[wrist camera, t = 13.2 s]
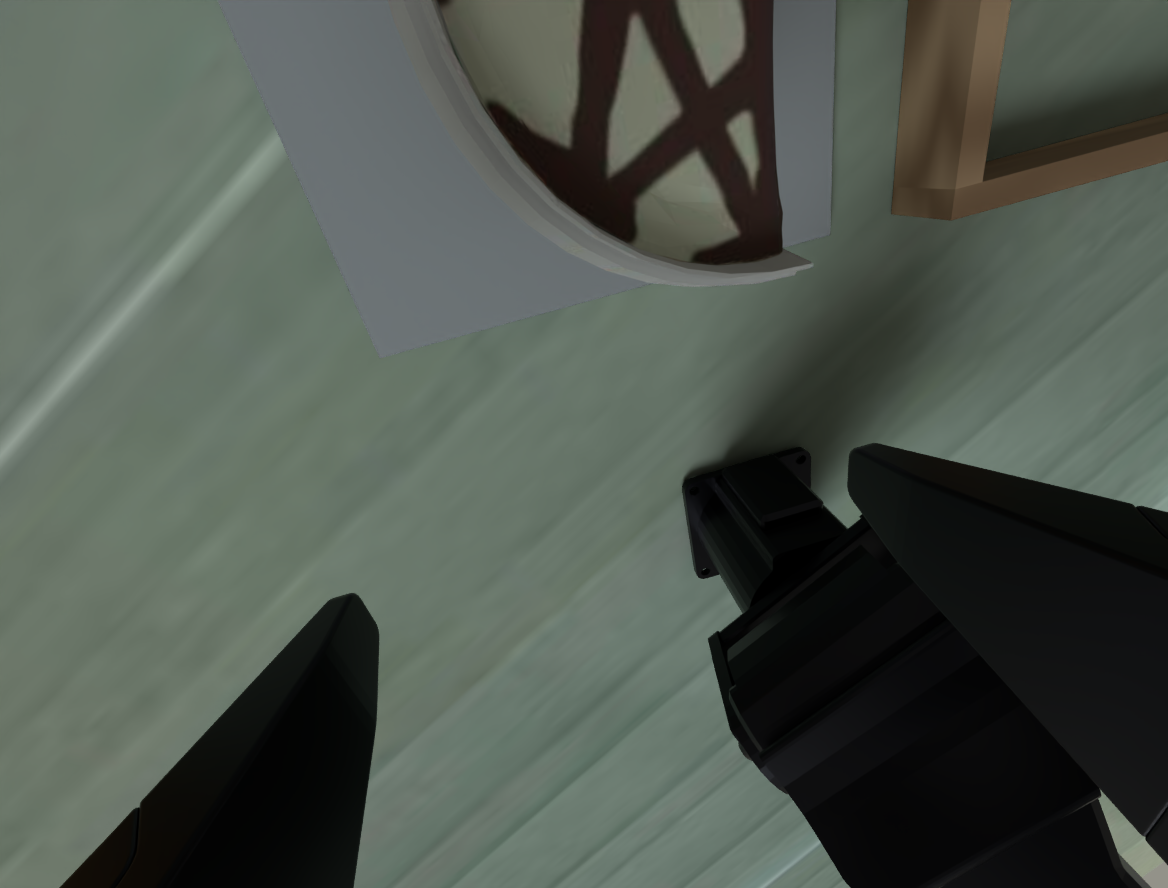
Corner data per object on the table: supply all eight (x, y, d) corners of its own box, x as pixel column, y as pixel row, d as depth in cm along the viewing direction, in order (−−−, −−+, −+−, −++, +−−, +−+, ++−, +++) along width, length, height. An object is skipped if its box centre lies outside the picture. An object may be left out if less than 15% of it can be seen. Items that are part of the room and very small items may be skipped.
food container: (331, -212, 12) (-29, -1127, 4) (572, -280, 12) (778, -1309, 4) (501, 286, 18) (516, 388, 10) (660, 236, 19) (814, 294, 10)
